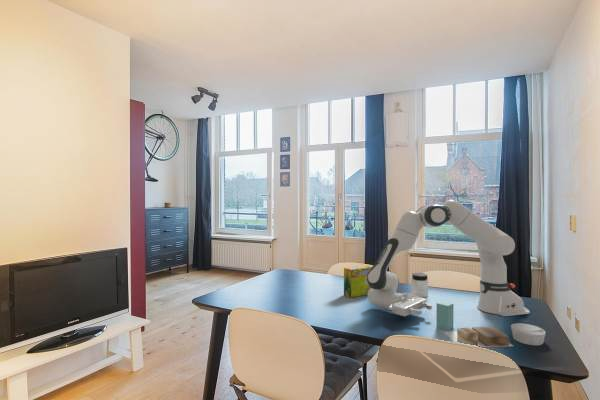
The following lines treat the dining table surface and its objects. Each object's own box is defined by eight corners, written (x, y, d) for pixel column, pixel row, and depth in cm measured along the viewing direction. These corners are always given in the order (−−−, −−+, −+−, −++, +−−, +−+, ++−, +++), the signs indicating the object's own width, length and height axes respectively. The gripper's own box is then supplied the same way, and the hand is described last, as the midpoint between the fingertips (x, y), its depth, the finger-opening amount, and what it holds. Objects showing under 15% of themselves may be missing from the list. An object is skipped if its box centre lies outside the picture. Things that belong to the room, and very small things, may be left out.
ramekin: (543, 351, 123) (543, 337, 123) (508, 342, 131) (508, 329, 131) (547, 341, 132) (547, 328, 132) (513, 333, 139) (513, 320, 139)
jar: (413, 297, 188) (413, 276, 187) (409, 293, 196) (409, 272, 196) (430, 297, 187) (430, 276, 187) (425, 293, 195) (425, 272, 195)
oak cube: (468, 340, 131) (468, 327, 131) (477, 345, 126) (477, 332, 126) (457, 341, 130) (457, 328, 130) (466, 347, 125) (466, 333, 125)
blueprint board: (491, 332, 140) (491, 330, 140) (513, 348, 126) (513, 346, 126) (443, 333, 139) (443, 331, 139) (461, 349, 125) (461, 347, 125)
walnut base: (494, 335, 135) (494, 326, 135) (509, 345, 126) (509, 336, 126) (472, 336, 135) (472, 327, 135) (485, 346, 126) (485, 336, 126)
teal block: (441, 325, 148) (441, 300, 148) (453, 329, 144) (453, 303, 144) (436, 328, 144) (436, 303, 144) (448, 332, 141) (448, 306, 140)
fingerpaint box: (367, 290, 203) (367, 263, 203) (375, 292, 197) (375, 265, 197) (342, 295, 193) (342, 267, 193) (350, 298, 187) (350, 269, 187)
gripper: (386, 301, 154) (414, 308, 143) (409, 292, 167) (436, 298, 157) (386, 315, 154) (414, 323, 144) (409, 304, 168) (436, 311, 157)
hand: (426, 310), depth 150 cm, fingers open, 8 cm apart
